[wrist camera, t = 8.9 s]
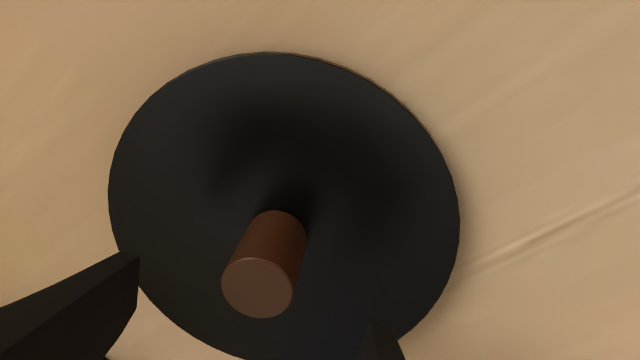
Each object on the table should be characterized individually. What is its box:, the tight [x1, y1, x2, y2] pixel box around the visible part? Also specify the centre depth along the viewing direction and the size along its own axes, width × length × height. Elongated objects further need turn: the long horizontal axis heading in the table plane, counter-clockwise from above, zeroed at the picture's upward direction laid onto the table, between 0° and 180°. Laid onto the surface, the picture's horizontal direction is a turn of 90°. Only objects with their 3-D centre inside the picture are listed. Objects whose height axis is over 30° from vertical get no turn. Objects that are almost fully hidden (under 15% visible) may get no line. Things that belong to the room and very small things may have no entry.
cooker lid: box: [108, 52, 460, 360], centre depth 15 cm, size 14×14×4 cm
